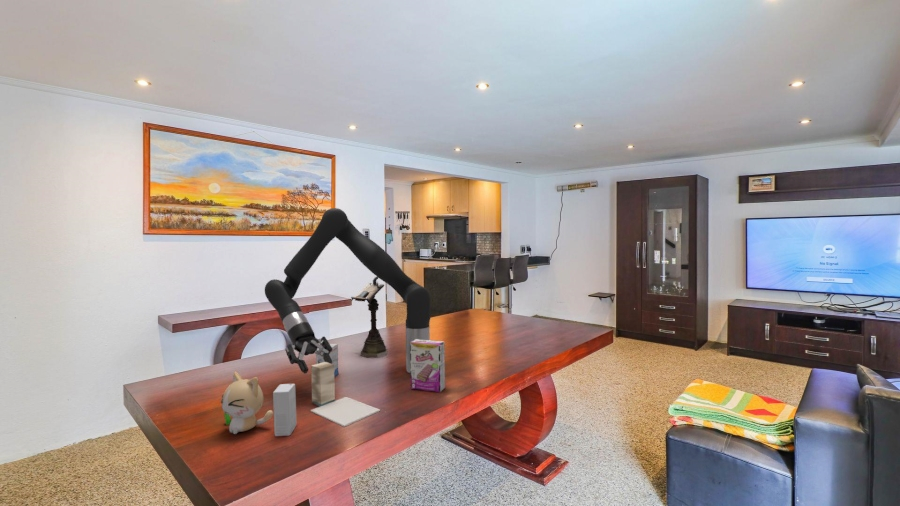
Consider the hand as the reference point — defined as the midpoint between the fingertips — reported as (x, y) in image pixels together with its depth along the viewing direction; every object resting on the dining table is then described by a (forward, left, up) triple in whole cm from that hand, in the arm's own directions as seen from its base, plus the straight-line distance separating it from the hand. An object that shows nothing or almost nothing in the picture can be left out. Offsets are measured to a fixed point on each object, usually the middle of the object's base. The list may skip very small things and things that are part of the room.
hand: (318, 368), depth 132 cm
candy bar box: (-35, -2, -11) cm, 37 cm away
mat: (-9, +10, -10) cm, 17 cm away
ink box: (0, -22, -11) cm, 25 cm away
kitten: (+19, +16, -11) cm, 27 cm away
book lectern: (-16, -47, -11) cm, 51 cm away
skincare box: (+7, +20, -11) cm, 23 cm away
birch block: (-1, +2, -10) cm, 11 cm away
